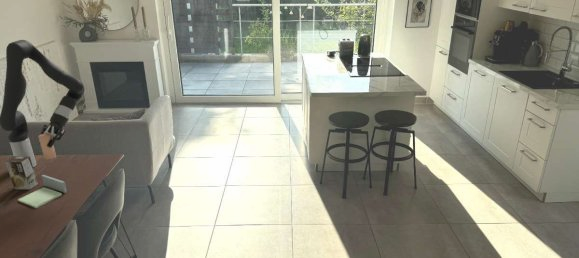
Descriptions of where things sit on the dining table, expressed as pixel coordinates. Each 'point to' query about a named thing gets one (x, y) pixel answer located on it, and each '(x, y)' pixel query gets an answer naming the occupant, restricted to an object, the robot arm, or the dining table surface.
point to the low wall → (54, 183)
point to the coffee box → (21, 172)
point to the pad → (39, 197)
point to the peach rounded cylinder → (47, 151)
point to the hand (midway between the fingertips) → (45, 145)
